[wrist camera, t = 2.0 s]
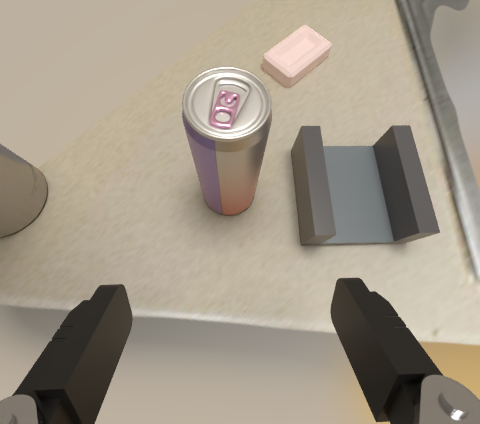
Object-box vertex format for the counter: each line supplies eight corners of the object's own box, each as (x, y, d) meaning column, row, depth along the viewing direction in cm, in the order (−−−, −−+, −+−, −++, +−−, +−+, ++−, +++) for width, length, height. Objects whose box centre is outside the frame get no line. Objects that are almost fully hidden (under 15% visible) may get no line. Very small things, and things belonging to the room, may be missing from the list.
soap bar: (328, 57, 38) (334, 42, 36) (287, 91, 36) (291, 76, 33) (301, 37, 39) (305, 21, 37) (259, 68, 37) (261, 53, 34)
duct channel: (405, 242, 29) (440, 232, 24) (301, 245, 28) (315, 235, 24) (384, 150, 33) (409, 125, 28) (291, 151, 32) (301, 126, 27)
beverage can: (197, 209, 29) (165, 128, 15) (211, 164, 31) (195, 55, 17) (247, 222, 29) (263, 152, 15) (259, 176, 31) (283, 75, 17)
